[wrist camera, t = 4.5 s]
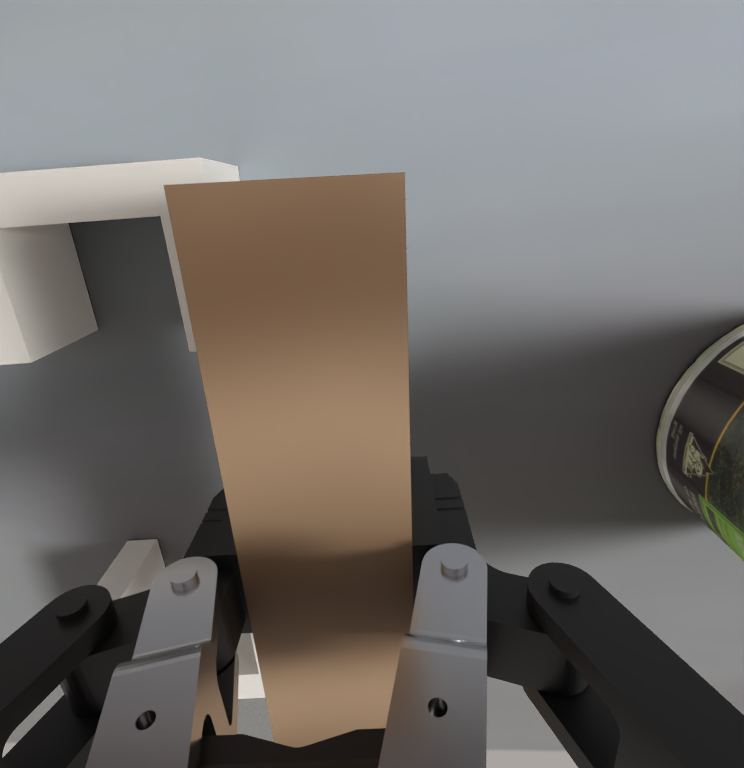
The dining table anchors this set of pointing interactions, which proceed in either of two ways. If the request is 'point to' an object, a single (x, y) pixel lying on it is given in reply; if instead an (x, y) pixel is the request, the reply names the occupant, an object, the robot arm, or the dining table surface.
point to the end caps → (71, 300)
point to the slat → (309, 428)
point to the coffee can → (708, 439)
